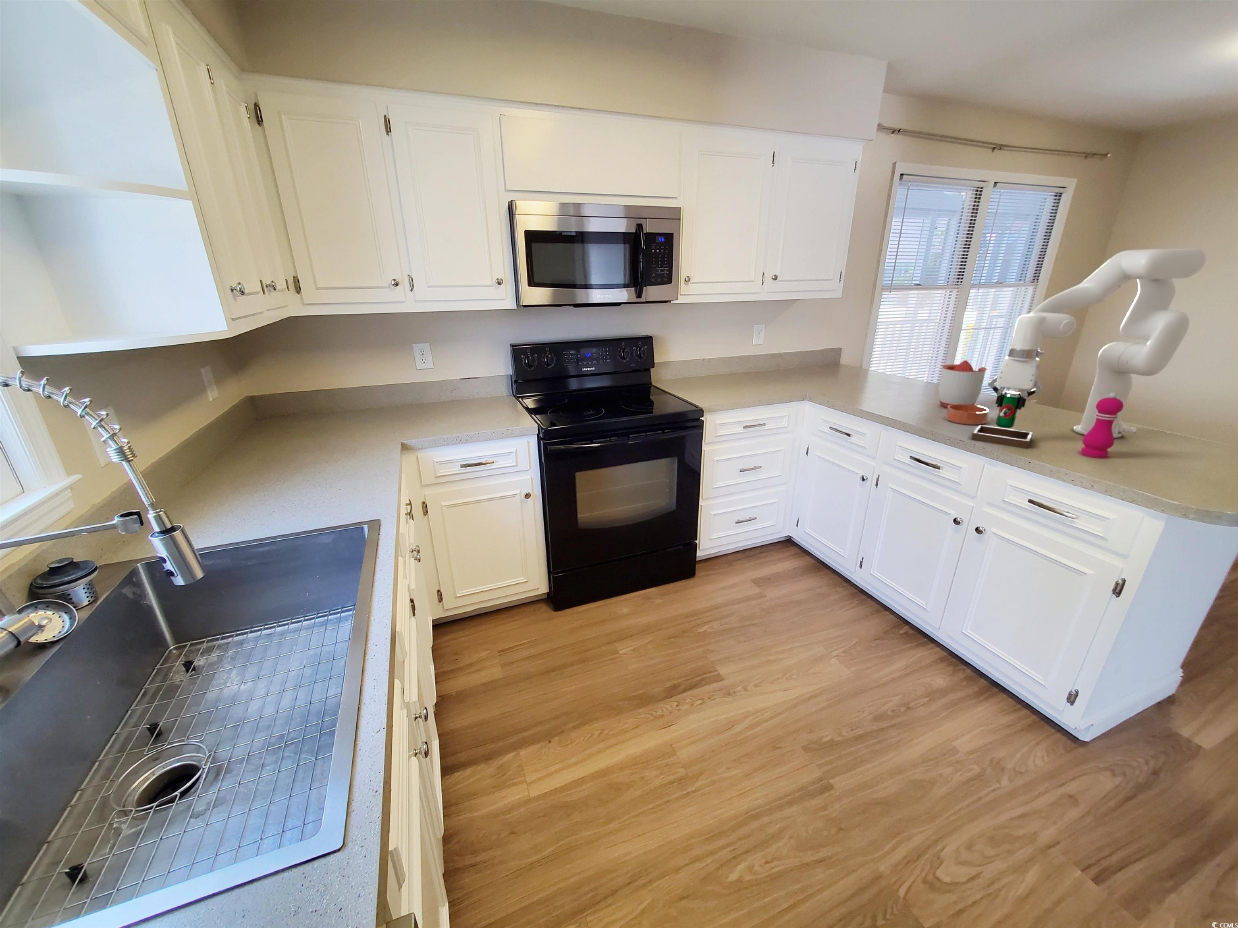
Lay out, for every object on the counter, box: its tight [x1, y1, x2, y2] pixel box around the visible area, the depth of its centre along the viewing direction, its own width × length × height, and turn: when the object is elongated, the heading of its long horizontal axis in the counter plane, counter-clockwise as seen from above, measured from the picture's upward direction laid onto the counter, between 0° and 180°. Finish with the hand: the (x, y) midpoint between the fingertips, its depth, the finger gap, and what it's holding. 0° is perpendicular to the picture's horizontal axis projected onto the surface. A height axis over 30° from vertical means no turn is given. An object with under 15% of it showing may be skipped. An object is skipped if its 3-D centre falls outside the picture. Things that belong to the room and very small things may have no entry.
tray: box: [971, 424, 1034, 449], centre depth 172 cm, size 16×12×3 cm
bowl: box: [945, 404, 990, 426], centre depth 193 cm, size 13×13×5 cm
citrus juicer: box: [938, 359, 987, 409], centre depth 210 cm, size 16×17×20 cm
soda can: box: [995, 390, 1023, 429], centre depth 169 cm, size 5×5×12 cm
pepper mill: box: [1080, 393, 1123, 459], centre depth 153 cm, size 7×7×20 cm
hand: (1009, 407), depth 168 cm, fingers closed on soda can, 5 cm apart
